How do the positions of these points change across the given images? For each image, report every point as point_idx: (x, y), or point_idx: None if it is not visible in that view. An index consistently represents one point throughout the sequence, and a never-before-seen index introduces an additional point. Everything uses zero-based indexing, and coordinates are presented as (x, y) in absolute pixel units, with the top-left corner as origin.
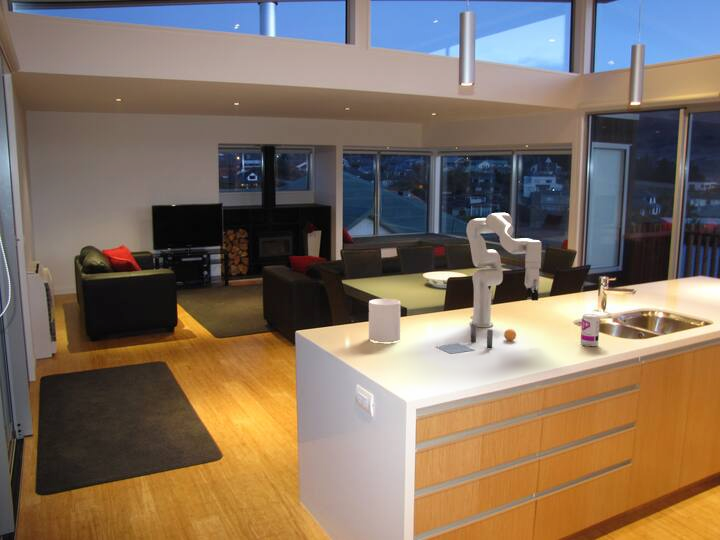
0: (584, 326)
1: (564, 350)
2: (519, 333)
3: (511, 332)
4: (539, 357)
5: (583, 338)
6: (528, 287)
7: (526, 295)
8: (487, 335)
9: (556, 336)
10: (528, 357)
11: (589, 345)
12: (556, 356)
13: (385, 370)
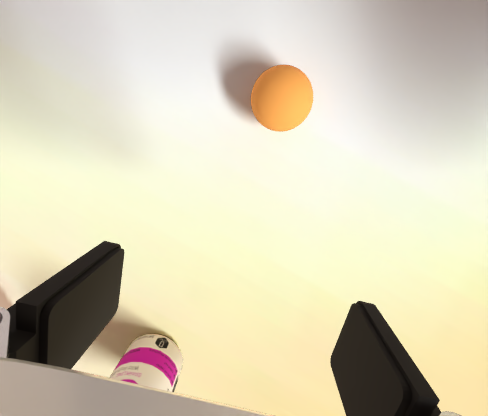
0: None
1: None
2: (383, 210)
3: (257, 91)
4: (13, 99)
5: (137, 351)
6: (32, 363)
7: (367, 313)
8: None
9: (289, 320)
10: (12, 51)
11: (130, 344)
12: (26, 173)
13: None
